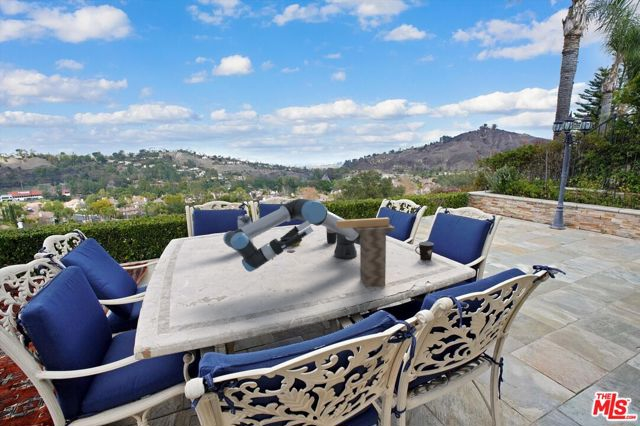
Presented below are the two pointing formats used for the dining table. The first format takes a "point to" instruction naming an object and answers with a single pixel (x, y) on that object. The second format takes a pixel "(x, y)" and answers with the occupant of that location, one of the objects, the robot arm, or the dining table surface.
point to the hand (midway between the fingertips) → (310, 225)
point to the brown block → (362, 223)
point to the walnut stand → (373, 254)
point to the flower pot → (296, 243)
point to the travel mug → (331, 236)
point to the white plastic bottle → (244, 222)
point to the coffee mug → (425, 250)
